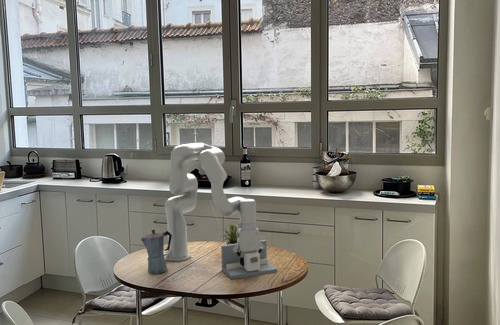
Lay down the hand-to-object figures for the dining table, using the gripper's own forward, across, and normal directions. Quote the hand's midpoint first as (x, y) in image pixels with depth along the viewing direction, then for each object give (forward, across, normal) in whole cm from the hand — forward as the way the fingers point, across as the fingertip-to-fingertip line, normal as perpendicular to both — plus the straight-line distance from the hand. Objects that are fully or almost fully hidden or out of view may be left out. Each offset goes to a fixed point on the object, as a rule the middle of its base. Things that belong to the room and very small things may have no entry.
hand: (249, 263), depth 217 cm
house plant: (+4, +1, +29) cm, 30 cm away
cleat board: (+3, 0, +1) cm, 4 cm away
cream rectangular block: (+1, 0, 0) cm, 1 cm away
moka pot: (+4, -39, +18) cm, 43 cm away
